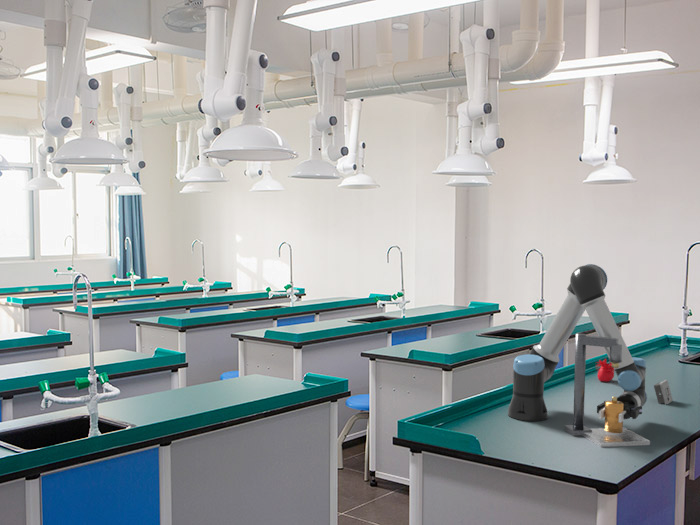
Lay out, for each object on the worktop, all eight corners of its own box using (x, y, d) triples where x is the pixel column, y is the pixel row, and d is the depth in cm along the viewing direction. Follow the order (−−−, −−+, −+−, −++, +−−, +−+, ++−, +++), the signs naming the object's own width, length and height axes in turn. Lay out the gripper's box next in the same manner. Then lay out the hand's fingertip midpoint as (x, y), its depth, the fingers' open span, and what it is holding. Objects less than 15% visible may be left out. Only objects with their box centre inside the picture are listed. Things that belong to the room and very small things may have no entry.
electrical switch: (667, 405, 292) (665, 383, 292) (654, 404, 295) (652, 382, 295) (673, 401, 299) (671, 379, 299) (660, 400, 302) (659, 379, 302)
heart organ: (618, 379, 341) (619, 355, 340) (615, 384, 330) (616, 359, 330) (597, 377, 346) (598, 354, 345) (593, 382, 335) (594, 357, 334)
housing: (602, 431, 242) (603, 397, 241) (606, 427, 247) (607, 394, 246) (620, 434, 239) (622, 399, 238) (624, 430, 244) (625, 396, 243)
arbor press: (591, 447, 233) (594, 341, 231) (564, 430, 252) (567, 332, 251) (649, 445, 236) (653, 340, 235) (619, 428, 256) (622, 332, 254)
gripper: (654, 418, 252) (638, 432, 233) (601, 409, 263) (581, 422, 244) (654, 397, 251) (639, 410, 233) (601, 390, 262) (582, 401, 244)
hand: (609, 416), depth 238 cm, fingers closed on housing, 6 cm apart
